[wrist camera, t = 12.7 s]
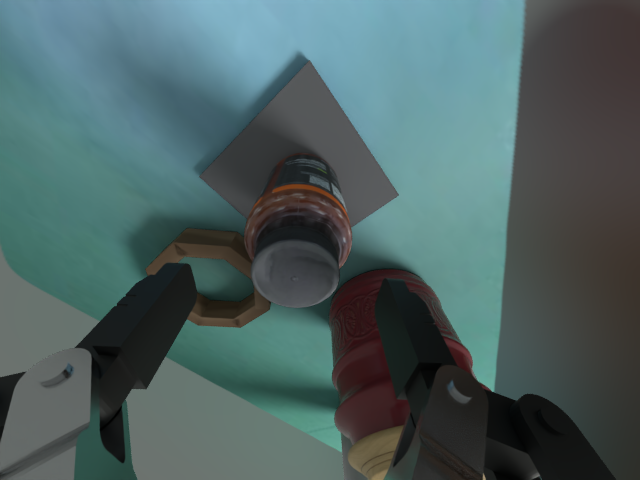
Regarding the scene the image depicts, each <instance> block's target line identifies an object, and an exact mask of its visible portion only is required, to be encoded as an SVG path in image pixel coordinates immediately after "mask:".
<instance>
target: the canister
mask: <svg viewBox="0 0 640 480" xmlns="http://www.w3.org/2000/svg"><path fill="white" fill-rule="evenodd" d="M384 278H391V279H403V280H404V281H405V283H406V285H407V288H408V290H409V292H414V293H416V294H417V295H418V296H419V297H420V298H421V299H422V300H423V301H424V302H425V304H426V306H427V307H428V309H429V311H430V313H431V316H432V317H433V319H434V321H435V325H436V326H437V327H438V329H439V331H440V333H441V335H442V337H443V338H444V340H445V342H446V344H447V346H448V348H449V350H450V352H451V354H452V356H453V358H454V360H455V362H456V363H457V365H458V367H460V368H462V369H464V370H465V371H467V372H468V373H470V374H471V375H472V376H473V377H474V378H475V379H476V380H477V378H476V376H475V374H474V372H473V370H472V366H473V360H472V356H471V354H470V352H469V351H468V349H467V348H466V347H465V346H464V345H463V344H462V343H461V341H460V339H459V337H458V336H457V334H456V332H455V330H454V329H453V327H452V325H451V323H450V322H449V320H448V318H447V316H446V315H445V313H444V311H443V309H442V306H441V303H440V301H439V299H438V297H437V296H436V294H435V292H434V291H433V290H432V289H431V288H430V287H429V286H428V285H427V284H426V283H425V281H424V280H422V279H421V278H420V277H418V276H417V275H415V274H412V273H410V272H407V271H403V270H396V269H382V270H375V271H370V272H367V273H364V274H361V275H359V276H356V277H354V278H353V279H351V280H349V281H348V282H346V283H345V284H344V285H343V286H342V287H341V288H340V289H339V290H338V291H337V292H336V294H335V295H334V297H333V299H332V302H331V308H330V311H329V327H330V331H331V336H332V353H333V371H332V381H333V384H334V387H335V388H336V390H337V391H338V393H339V401H340V405H339V406H338V408H337V410H336V412H335V417H334V421H335V425H336V427H337V429H338V430H339V431H340V432H341V433H342V434H343V435H344V436H345V437H347V438H348V439H350V441H351V444H352V447H351V448H350V450H349V452H348V461H349V464H350V465H351V466H352V467H353V468H354V469H356V470H357V471H359V472H360V473H362V474H363V475H364V476H365V477H367V478H368V480H383V479H384V477H385V475H386V473H387V471H388V469H389V466H390V464H391V461H392V458H393V455H394V452H395V449H396V446H397V444H398V441H399V438H400V435H401V432H402V429H403V426H404V423H405V421H406V418H407V415H408V412H409V410H410V407H409V403H408V400H401V399H396V395H395V391H394V387H393V384H392V380H391V376H390V372H389V368H388V364H387V360H386V357H385V353H384V349H383V345H382V341H381V337H380V334H379V330H378V326H377V322H376V318H375V302H376V299H377V296H378V293H379V290H380V287H381V284H382V281H383V279H384ZM477 381H478V380H477ZM479 383H480V382H479ZM480 384H481V386H482V387H483V388H484V389H486V390H489V391H491V390H490V389H489V388H488V387H487V386H485V385H484V384H482V383H480ZM491 392H492V391H491ZM483 480H486V478H485V476H484V473H483Z"/></svg>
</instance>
